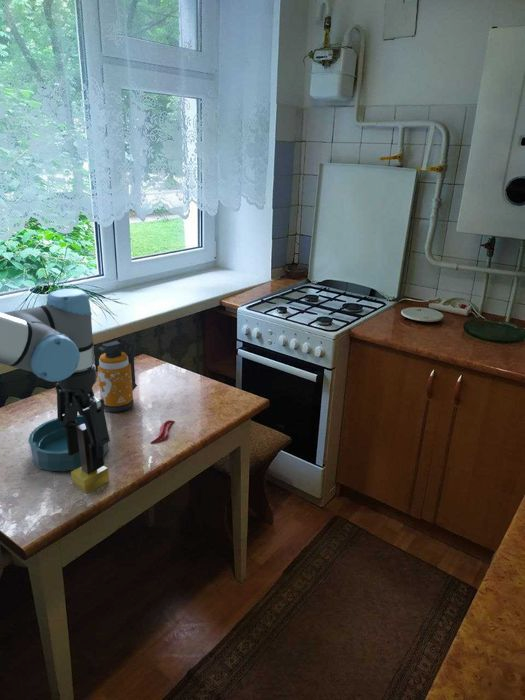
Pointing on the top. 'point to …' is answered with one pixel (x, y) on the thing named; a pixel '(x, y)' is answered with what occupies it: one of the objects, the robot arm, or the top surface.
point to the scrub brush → (87, 466)
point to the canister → (117, 375)
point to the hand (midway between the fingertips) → (86, 459)
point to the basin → (54, 447)
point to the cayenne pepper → (163, 431)
